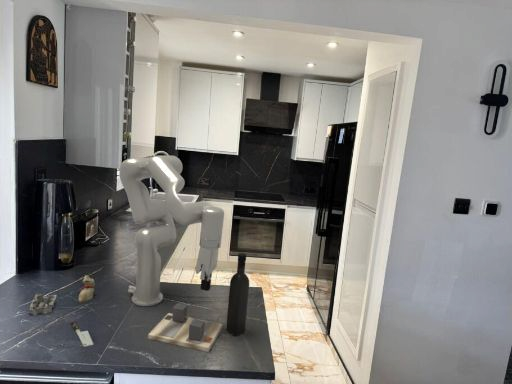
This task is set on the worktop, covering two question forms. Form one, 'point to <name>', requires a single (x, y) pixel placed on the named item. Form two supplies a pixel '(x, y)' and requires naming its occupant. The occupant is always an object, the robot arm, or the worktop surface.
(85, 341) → the cleaver
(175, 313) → the dark grey block
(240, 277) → the wine bottle
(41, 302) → the egg carton
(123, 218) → the worktop surface
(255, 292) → the worktop surface
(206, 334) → the switch panel
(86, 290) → the cream animal figurine
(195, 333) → the right tab
